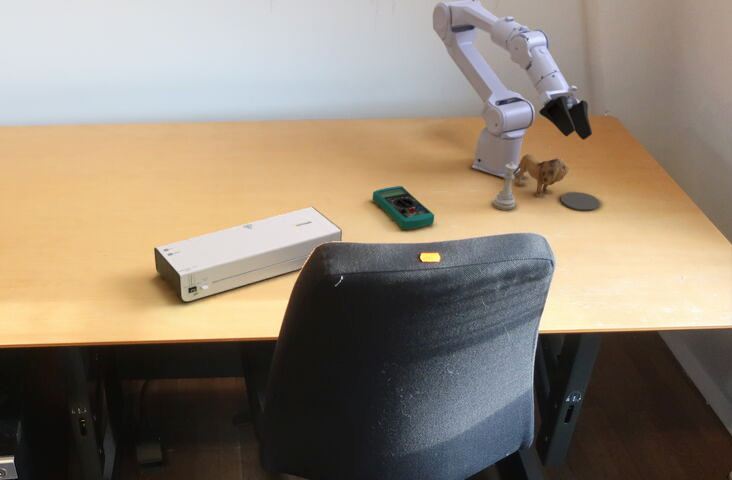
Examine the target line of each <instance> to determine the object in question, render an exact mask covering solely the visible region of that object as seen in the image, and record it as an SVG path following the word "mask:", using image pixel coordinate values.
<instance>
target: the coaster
mask: <svg viewBox="0 0 732 480" xmlns="http://www.w3.org/2000/svg"><path fill="white" fill-rule="evenodd" d="M560 202H561V204H562V205H563V206H565V207H566V208H569V209H571V210H575V211H580V212H589V211H590V212H591V211H595V210H597V209H598V208H599V206H600V201H599V199H598V198H597V197H595V196H593V195H591V194H588V193H584V192H576V191H575V192H566V193H563V194H562V195H561V197H560Z"/></svg>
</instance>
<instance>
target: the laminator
mask: <svg viewBox="0 0 732 480" xmlns="http://www.w3.org/2000/svg"><path fill="white" fill-rule="evenodd" d="M342 235H343V230H342V228H340V227H339V226H337V224H335V223H334V222H333V221H331V220H330V219H329V218H328V217H326V216H325V215H324V214H323V213H321V212H320V211H319V210H317V209H316V208H315V207H314V206H308V207H304V208H302V209H297V210H294V211H290V212H287V213H286V212H285V213H283V214H279V215H274V216H270V217H266V218H263V219H259V220H255V221H252V222H247V223H244V224H240V225H236V226H233V227H228V228H225V229H220V230H217V231H213V232H209V233H206V234H202V235H197V236H194V237H191V238H186V239H182V240H179V241H175V242H171V243H168V244H163V245H159V246H155V247H154V248H153V252H154V253H153V254H154V263H155V270H156V272H157V274H158V275H160V276H161V278H163V280H164V281H165V282H166V283H167V284H168V285H169V286H170V288H171V289H172V290H173V292H174V293H176V295H177V296H178V297H179V298H180V300H181V302H183V303H191V302H194V301H198V300H201V299H206V298H209V297H211V296H216V295H219V294H222V293H225V292H229V291H232V290H236V289H239V288H241V287H246V286H248V285H253V284H256V283H260V282H263V281H266V280H267V281H268V280H270V279H273V278H276V277H280V276H283V275H287V274H291V273H294V272H297V271H301V270H302V269H301V268H302V266H303V265H304V263H305V261H306V260H307V258H308V257H309V255H310V254H311V252H312V251H313V250H314V248H316V247H317V246H318V245H320V244H322V243H325V242H332V241H341V242H342V237H343V236H342Z"/></svg>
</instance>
